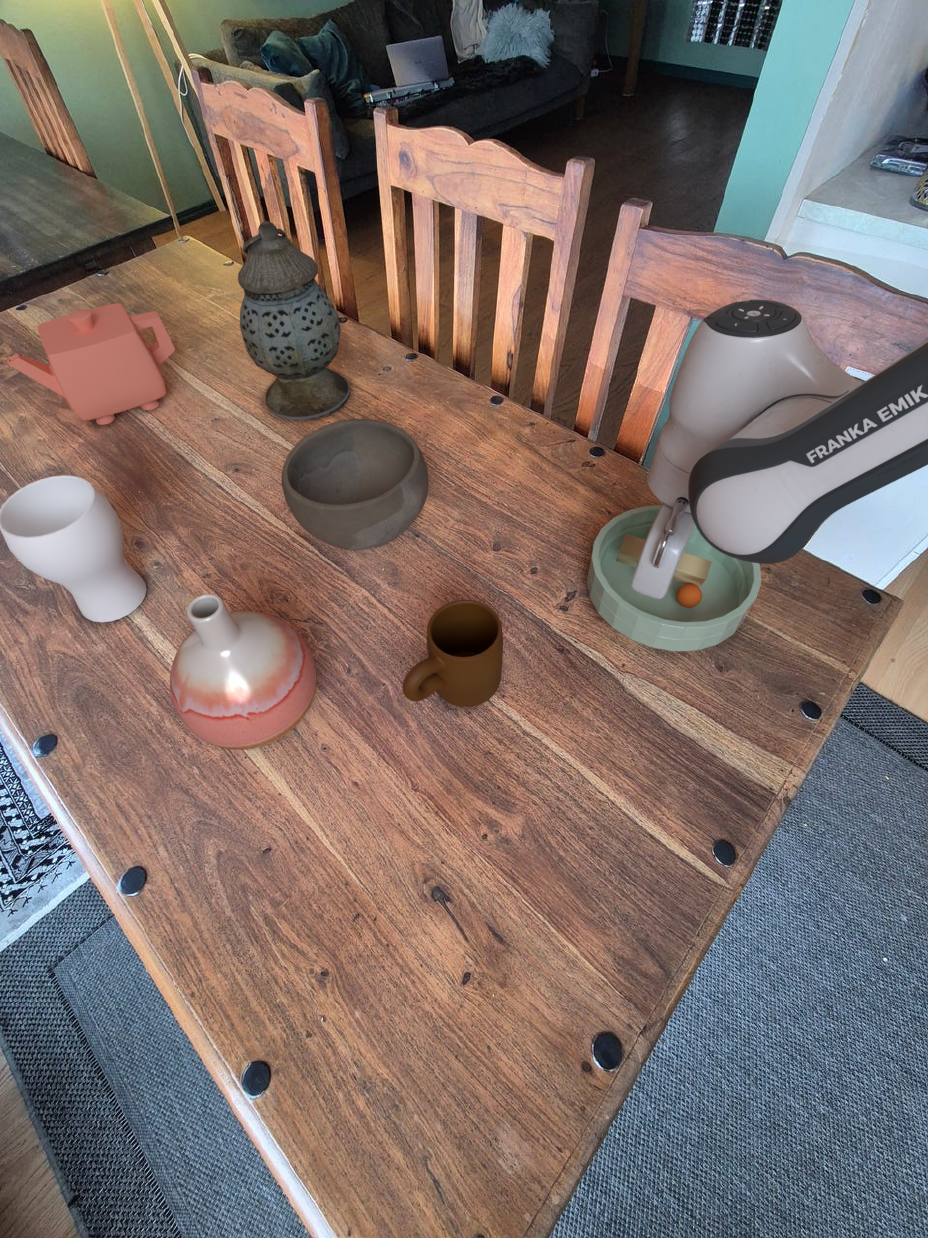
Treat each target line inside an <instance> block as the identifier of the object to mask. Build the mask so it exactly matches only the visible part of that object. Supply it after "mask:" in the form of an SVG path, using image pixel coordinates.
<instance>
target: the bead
mask: <svg viewBox="0 0 928 1238" xmlns="http://www.w3.org/2000/svg"><path fill="white" fill-rule="evenodd" d="M676 598H677V601H678V603H679V604H680V605H681V606H683V607H686V608H692V607H695V606H697V605H698V604H699V603H700V602H701V599H702V592H701V590H700V588H699V587H698V586H696V585H694V584H690V583H689V584H684V585H682V586H681V587H680V588H679V589H678V591H677V593H676Z"/></svg>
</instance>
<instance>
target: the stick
mask: <svg viewBox="0 0 928 1238" xmlns="http://www.w3.org/2000/svg"><path fill="white" fill-rule="evenodd" d="M644 543H645V540H644V539H641V538H638V537H634V536H631V535H628V534H626V535H625V537H624V540H623V543H622V545H621V548H620V551H619V554H618V556H617V559H616V561H617V562H620V563H623V564H626V565H629V566H632V567H635V568H636V565H637V562H638V560H639V557H640V554H641V551H642V548H643V546H644ZM711 563H712V561H709V560H706V559H703V558H700V557H697V556H694V555H691V554H687V553H684V554H683V556H682V559H681V561H680V563H679V566H678V568H677V570H676V573H675V575H674V577H673V580H675V581H678V582H681V583H684V584H689V583H690V584H694V585H696V586H698V587H699V588H700V587H701V586H702V584H703V583H704V582H705V580H706V579H707V576H708V572H709V569H710V566H711Z"/></svg>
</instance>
